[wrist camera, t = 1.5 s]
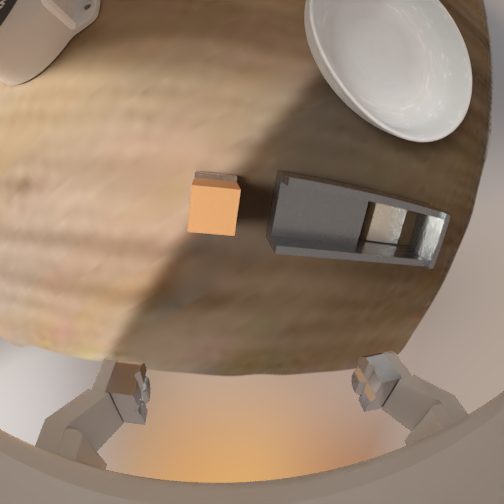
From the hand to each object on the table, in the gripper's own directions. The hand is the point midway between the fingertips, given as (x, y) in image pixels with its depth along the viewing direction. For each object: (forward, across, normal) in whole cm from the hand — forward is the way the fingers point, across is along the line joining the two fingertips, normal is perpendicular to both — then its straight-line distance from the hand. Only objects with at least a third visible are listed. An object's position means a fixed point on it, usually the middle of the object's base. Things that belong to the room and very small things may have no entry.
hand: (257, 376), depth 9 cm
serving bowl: (+21, -14, -21) cm, 33 cm away
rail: (+21, -14, -1) cm, 25 cm away
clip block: (+19, +2, -2) cm, 20 cm away
